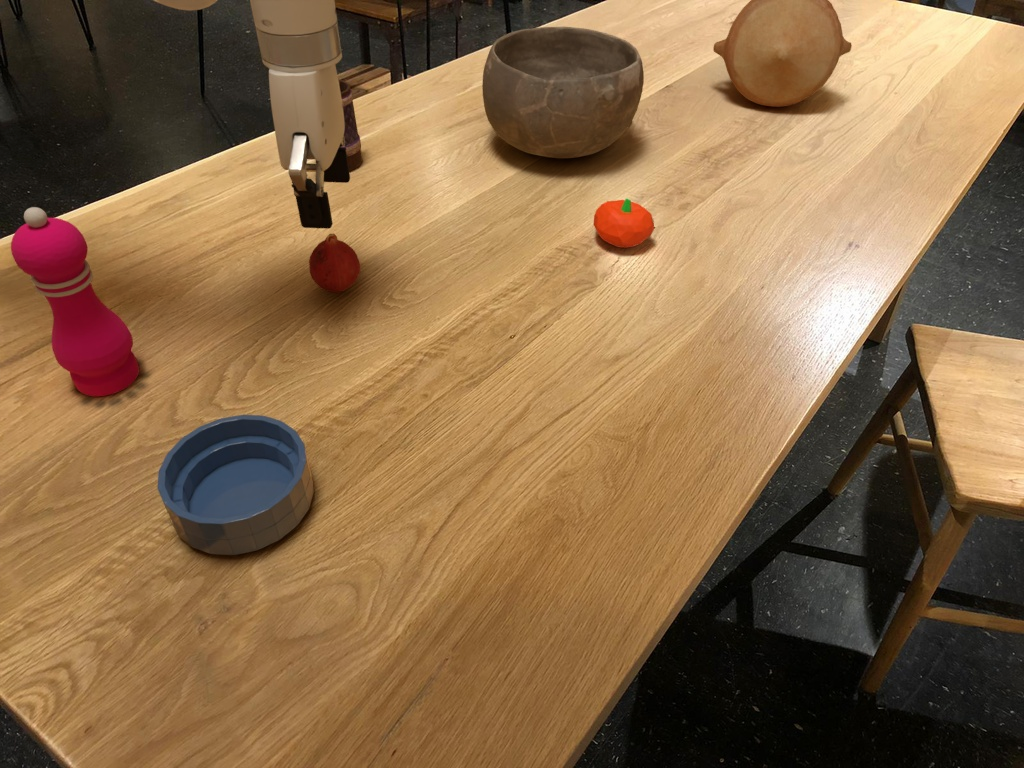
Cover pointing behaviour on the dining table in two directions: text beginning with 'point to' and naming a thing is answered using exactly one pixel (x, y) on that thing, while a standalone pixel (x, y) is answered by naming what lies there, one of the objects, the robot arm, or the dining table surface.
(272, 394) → the dining table surface
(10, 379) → the dining table surface
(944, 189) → the dining table surface
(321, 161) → the robot arm
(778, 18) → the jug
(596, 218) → the pumpkin
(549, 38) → the bowl
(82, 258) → the pepper mill
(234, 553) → the blue bowl
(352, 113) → the mug
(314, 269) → the onion
